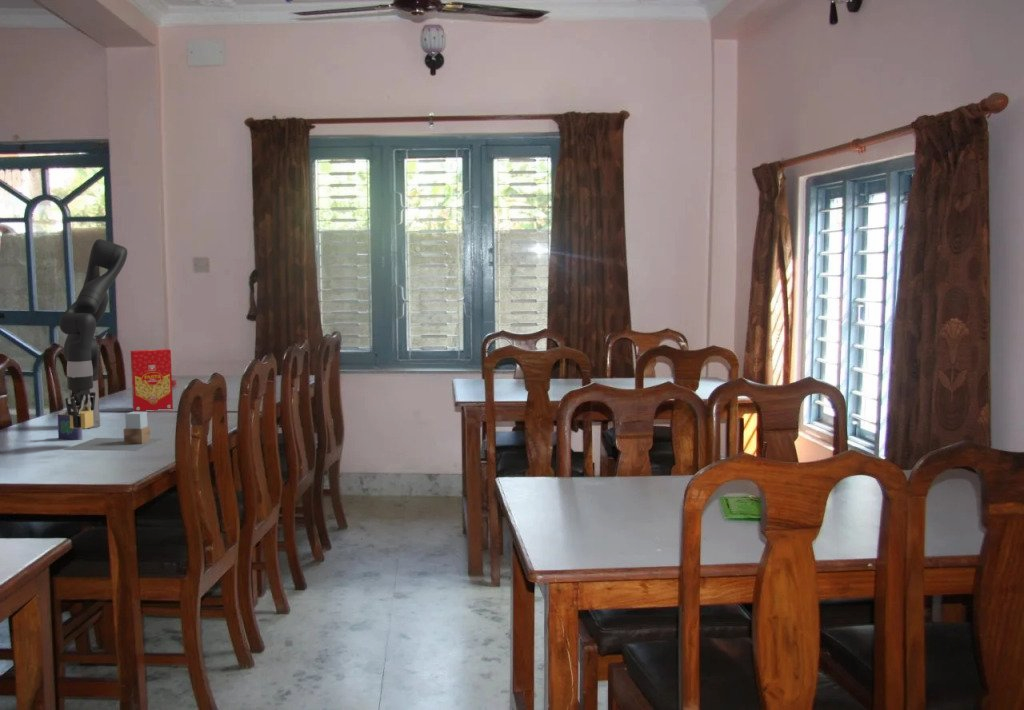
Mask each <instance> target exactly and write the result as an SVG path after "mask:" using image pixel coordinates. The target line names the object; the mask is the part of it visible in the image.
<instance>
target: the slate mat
mask: <svg viewBox="0 0 1024 710" xmlns="http://www.w3.org/2000/svg"><path fill="white" fill-rule="evenodd" d="M162 440H163V438H157V437H156V438H152V437H150V441H149V442H146V443H144V444H124V437H95V438H92V439H89V440H87V441H84V442H80V443H78V444H76V445H73V446H70V447H67V448H65V449H63V450H64V451H127V452H128V451H129V452H130V451H132V452H133V451H134V452H135V451H140V450H141V449H144V448H145V447H148V446H151V445H152V444H156V443H157V442H160V441H162Z"/></svg>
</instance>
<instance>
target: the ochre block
mask: <svg viewBox="0 0 1024 710" xmlns="http://www.w3.org/2000/svg"><path fill="white" fill-rule="evenodd" d="M77 412H78V411H77ZM80 416H81V427H80V428H81V429H82V430H84V429H90V428H89V427H91V426H94V423H93V411H82V410H81V415H80ZM70 428H74V427H73V416H71V415H70Z"/></svg>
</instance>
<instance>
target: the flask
mask: <svg viewBox="0 0 1024 710" xmlns="http://www.w3.org/2000/svg"><path fill="white" fill-rule="evenodd" d="M71 411H72V410H71ZM57 428H58V429H57V434H58V435H57V436H58V440H64V441H81V440H83V429H81V428H70V415H68V411H67V408H65V411H64V412H60V413H58V414H57Z"/></svg>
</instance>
